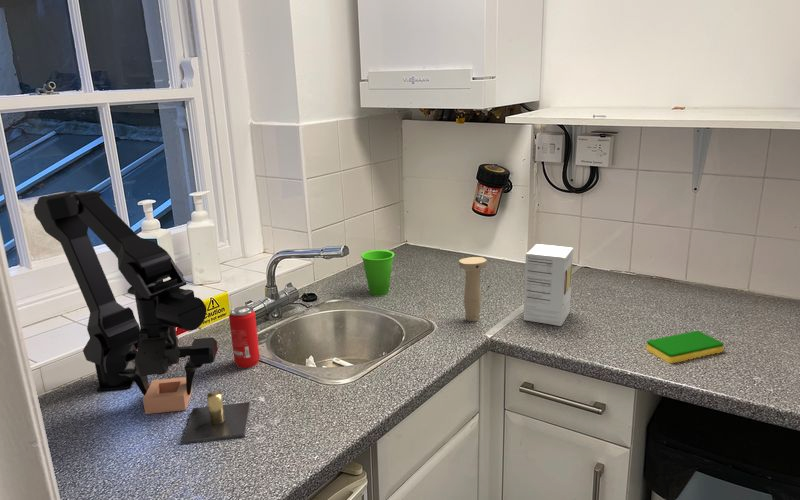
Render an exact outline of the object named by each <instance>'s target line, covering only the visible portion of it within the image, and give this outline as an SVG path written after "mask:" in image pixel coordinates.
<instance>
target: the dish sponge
mask: <svg viewBox="0 0 800 500" xmlns="http://www.w3.org/2000/svg"><path fill="white" fill-rule="evenodd" d="M645 348H646V351H647V352H650V353H651V354H653V355H655V356H656V357H658V358H659V359H661V360H663V361H665V362H666V363H667V364H676V363H680V362H684V361H688V359H689V360H693V358H694V359H697V358H696V357H698V358H701V356H703V357H707V356H706V355H708V356H710V354H712V355H716V354H715V353H717V354H720V352H721V353H723V350H724V349H723V348H724V342H722V341H720V340H717V339H716V338H714V337H711V336H709V335H707V334H705V332H702V331H699V330H693V331H689V332H685V333H684V332H683V333H679V334H673V335H669V336H665V337H660V338H654V339H650V340H647V341H646V347H645Z"/></svg>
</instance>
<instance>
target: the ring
mask: <svg viewBox="0 0 800 500" xmlns="http://www.w3.org/2000/svg"><path fill="white" fill-rule="evenodd" d="M192 394H193V388H192V390H191V393H190V395H188V393H187V388H186V376H182V377H181V376H180V377H172V378H163V379H162V378H161V379H152V381H151V382H150V383H149V388H148V390H147V392H146V394H145V396H144V395H143V396H144V397H143V398H142V402H143V408H144V414H145V415H149V414H158V413H160V414H161V413H169V412H179V411H186V410H187V407H188V404H189V403H190V399H191V396H192Z"/></svg>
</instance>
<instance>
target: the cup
mask: <svg viewBox="0 0 800 500" xmlns="http://www.w3.org/2000/svg"><path fill="white" fill-rule="evenodd" d="M394 257H395V253H394V252H393V251H391V250H387V249H373V250H368V251H364V252H362V253H361V254H360V258H361V259H362V262H363V267H364V272H365V276H366V277H365V278H366V281H367V286H368V290H369V294H370V295H371V296H374V297H383V296H387V295H388V294H389V291H390V285H391V277H392V275H391V274H392V268H393V261H394Z"/></svg>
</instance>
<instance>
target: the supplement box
mask: <svg viewBox="0 0 800 500" xmlns="http://www.w3.org/2000/svg"><path fill="white" fill-rule="evenodd" d="M573 259H574V247H569V246H561V245H560V246H559V245H550V244H542V243H541V244H539V243H536V244H535V245H534V246H533V247H532V248H531V249H530V250H529V251H528V252H526V253H525V264H524V265H525V266H524V267H525V269H524V270H525V271H524V298H523V299H524V300H523V302H524V303H523V321H528V322H533V323H538V324H539V323H541V324H546V325H550V326H551V325H553V326H558V327H562V325H563V324H564V322H565V320H567V318H568V316H569V314H570V313H571V312H570V311H571V294H572V293H571V291H572V277H573V276H572V275H573V261H574V260H573Z"/></svg>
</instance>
